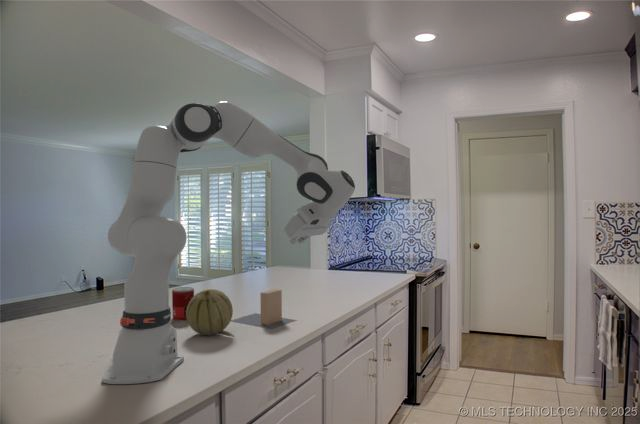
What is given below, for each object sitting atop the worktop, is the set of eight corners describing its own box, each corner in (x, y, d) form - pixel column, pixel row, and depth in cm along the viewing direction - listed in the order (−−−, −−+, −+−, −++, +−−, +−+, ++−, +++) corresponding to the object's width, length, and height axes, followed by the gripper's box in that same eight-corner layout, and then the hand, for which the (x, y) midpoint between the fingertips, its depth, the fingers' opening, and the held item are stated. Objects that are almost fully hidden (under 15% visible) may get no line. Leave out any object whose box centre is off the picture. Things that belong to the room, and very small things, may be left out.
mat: (296, 321, 161) (296, 320, 161) (271, 330, 149) (271, 329, 149) (255, 314, 172) (255, 313, 172) (229, 322, 160) (229, 320, 160)
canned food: (188, 320, 163) (187, 290, 163) (168, 319, 165) (168, 290, 165) (197, 315, 171) (197, 287, 171) (178, 314, 172) (178, 286, 172)
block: (281, 320, 161) (281, 289, 161) (267, 325, 154) (267, 293, 154) (275, 319, 163) (275, 289, 163) (260, 323, 156) (260, 292, 156)
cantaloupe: (228, 326, 155) (228, 283, 155) (236, 337, 141) (236, 290, 141) (184, 330, 150) (184, 286, 149) (188, 343, 136) (187, 294, 136)
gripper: (330, 206, 156) (308, 234, 161) (295, 206, 139) (271, 237, 144) (341, 219, 154) (318, 246, 159) (307, 221, 136) (282, 251, 142)
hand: (296, 242), depth 152 cm, fingers open, 3 cm apart
